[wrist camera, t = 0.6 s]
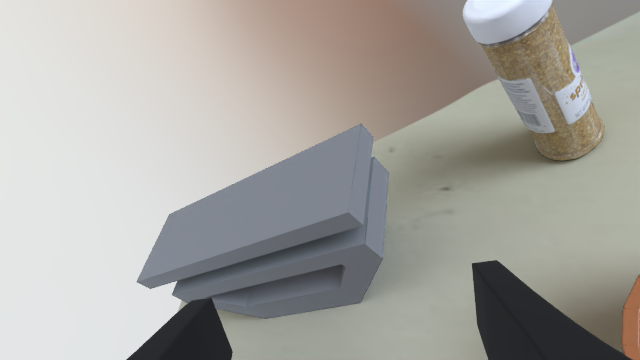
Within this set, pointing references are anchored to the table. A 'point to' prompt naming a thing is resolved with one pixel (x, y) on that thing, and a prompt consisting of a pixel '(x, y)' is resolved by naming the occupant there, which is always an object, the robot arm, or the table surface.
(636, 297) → the orange round open container
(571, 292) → the table surface
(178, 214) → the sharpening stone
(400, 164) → the table surface
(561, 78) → the sprinkles bottle
